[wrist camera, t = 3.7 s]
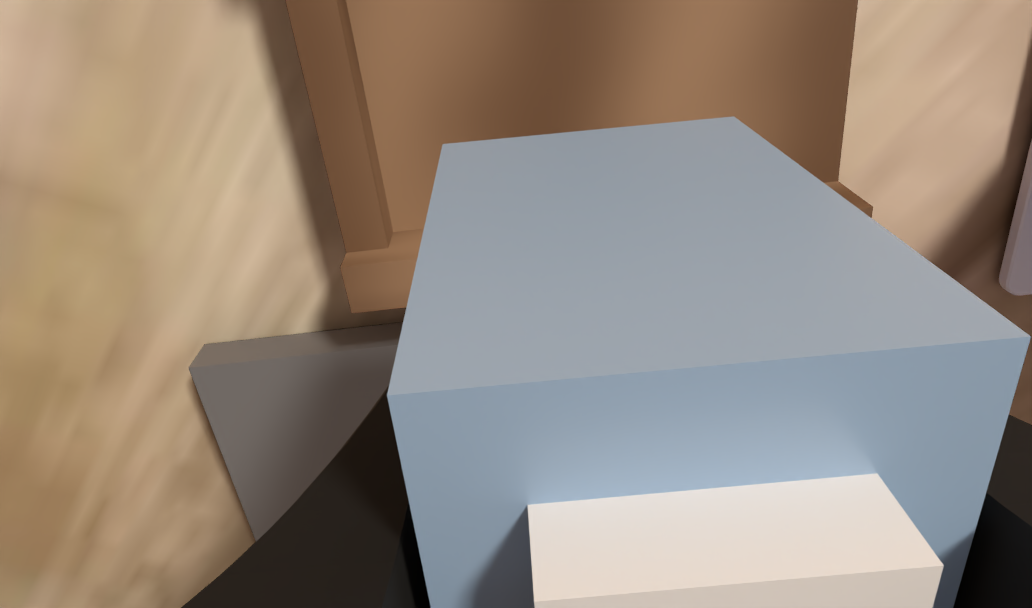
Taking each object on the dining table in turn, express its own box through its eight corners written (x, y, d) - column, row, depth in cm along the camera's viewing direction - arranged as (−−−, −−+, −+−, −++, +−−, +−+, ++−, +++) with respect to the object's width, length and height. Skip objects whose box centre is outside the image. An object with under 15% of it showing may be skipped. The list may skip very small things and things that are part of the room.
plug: (734, 116, 10) (1134, 414, 4) (715, 460, 12) (927, 951, 6) (442, 144, 10) (366, 483, 4) (488, 480, 13) (487, 986, 6)
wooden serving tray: (870, -286, 14) (946, -328, 12) (820, 215, 19) (866, 255, 16) (260, -209, 14) (215, -235, 12) (368, 266, 19) (351, 313, 17)
